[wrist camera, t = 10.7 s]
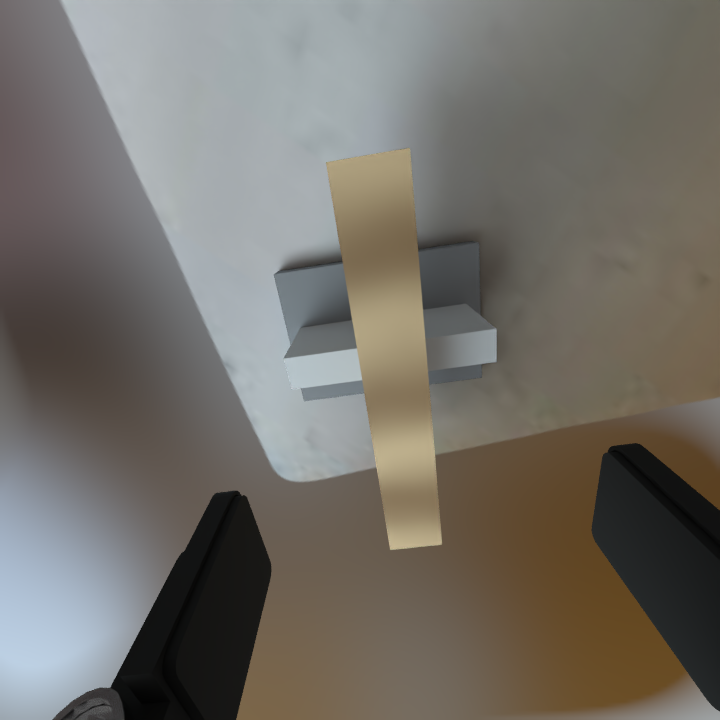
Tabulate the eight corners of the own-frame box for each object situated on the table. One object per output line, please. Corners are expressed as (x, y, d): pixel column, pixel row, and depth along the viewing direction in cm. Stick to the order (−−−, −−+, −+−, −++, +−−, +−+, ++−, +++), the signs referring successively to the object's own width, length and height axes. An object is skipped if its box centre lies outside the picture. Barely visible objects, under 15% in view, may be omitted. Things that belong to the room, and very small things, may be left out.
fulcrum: (278, 271, 25) (247, 292, 18) (472, 241, 25) (516, 250, 18) (306, 392, 29) (290, 447, 22) (475, 369, 28) (513, 419, 21)
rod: (333, 172, 16) (326, 162, 12) (398, 161, 16) (409, 147, 12) (385, 497, 24) (390, 549, 20) (429, 492, 24) (442, 544, 20)
